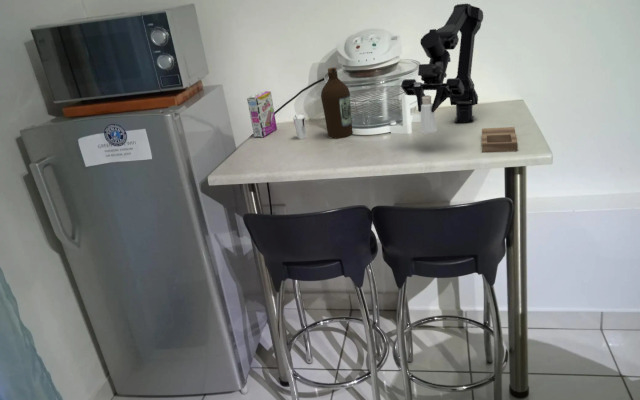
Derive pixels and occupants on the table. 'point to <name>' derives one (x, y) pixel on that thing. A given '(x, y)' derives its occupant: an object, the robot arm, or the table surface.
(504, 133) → the wooden tray
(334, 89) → the olive oil
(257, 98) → the candy bar box
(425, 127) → the pepper shaker
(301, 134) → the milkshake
